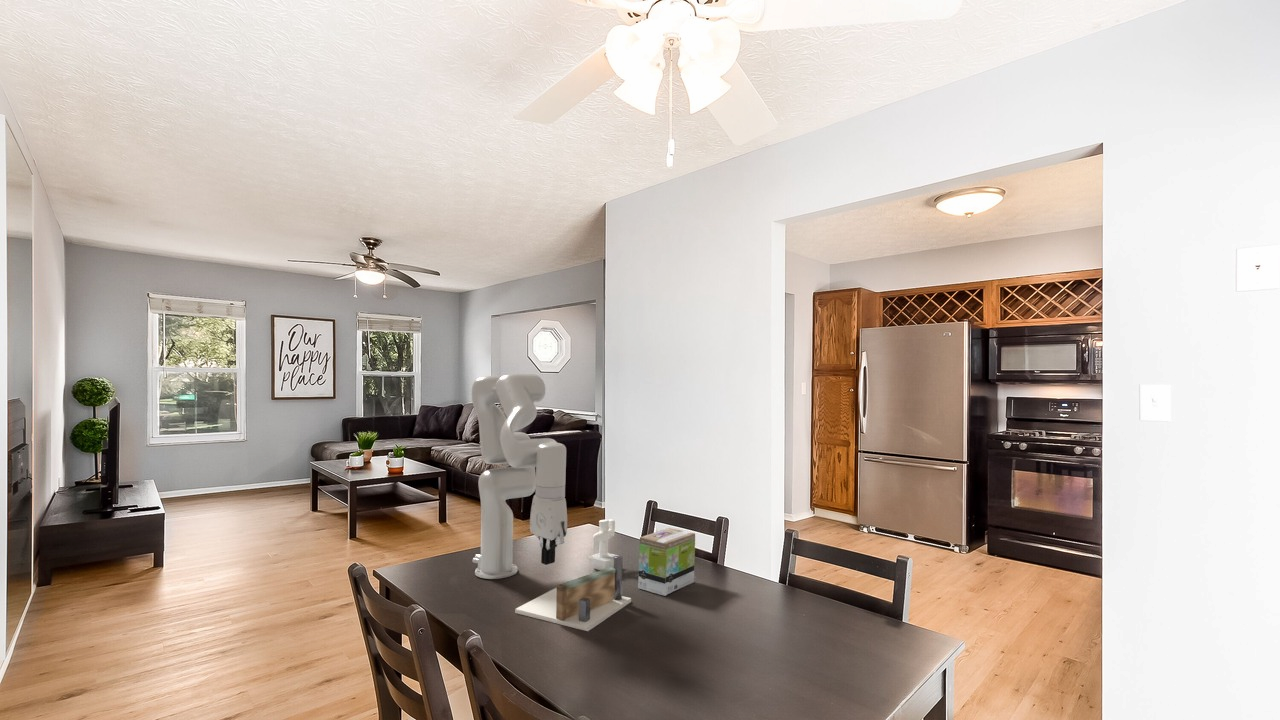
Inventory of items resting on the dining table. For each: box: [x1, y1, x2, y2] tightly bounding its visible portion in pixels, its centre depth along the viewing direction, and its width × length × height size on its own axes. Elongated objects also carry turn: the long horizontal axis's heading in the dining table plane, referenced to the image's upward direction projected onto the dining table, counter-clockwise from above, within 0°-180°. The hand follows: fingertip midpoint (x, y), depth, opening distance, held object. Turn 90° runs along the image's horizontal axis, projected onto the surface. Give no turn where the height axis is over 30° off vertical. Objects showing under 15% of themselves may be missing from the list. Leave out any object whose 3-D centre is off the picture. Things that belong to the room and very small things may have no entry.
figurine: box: [587, 519, 620, 571], centre depth 187 cm, size 7×9×15 cm
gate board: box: [514, 586, 632, 632], centre depth 155 cm, size 22×21×1 cm
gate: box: [556, 567, 615, 621], centre depth 150 cm, size 18×2×8 cm, turn 138°
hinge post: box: [579, 555, 623, 622], centre depth 152 cm, size 2×18×12 cm, turn 152°
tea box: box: [637, 527, 696, 597], centre depth 172 cm, size 15×10×15 cm, turn 143°
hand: (548, 562), depth 152 cm, fingers closed
